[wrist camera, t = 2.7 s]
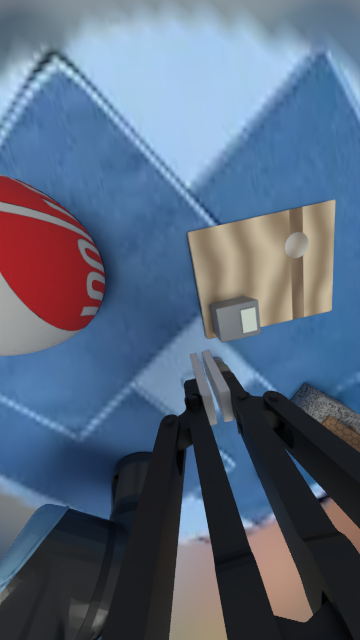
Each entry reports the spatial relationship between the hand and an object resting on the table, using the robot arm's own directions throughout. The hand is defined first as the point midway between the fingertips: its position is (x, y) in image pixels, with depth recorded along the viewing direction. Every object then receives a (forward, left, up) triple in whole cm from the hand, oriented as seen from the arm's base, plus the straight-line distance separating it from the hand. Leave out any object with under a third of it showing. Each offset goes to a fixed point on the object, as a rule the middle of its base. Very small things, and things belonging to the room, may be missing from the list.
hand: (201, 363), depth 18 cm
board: (+17, +6, -16) cm, 24 cm away
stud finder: (+9, 0, -15) cm, 17 cm away
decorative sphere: (-19, +14, -17) cm, 29 cm away
